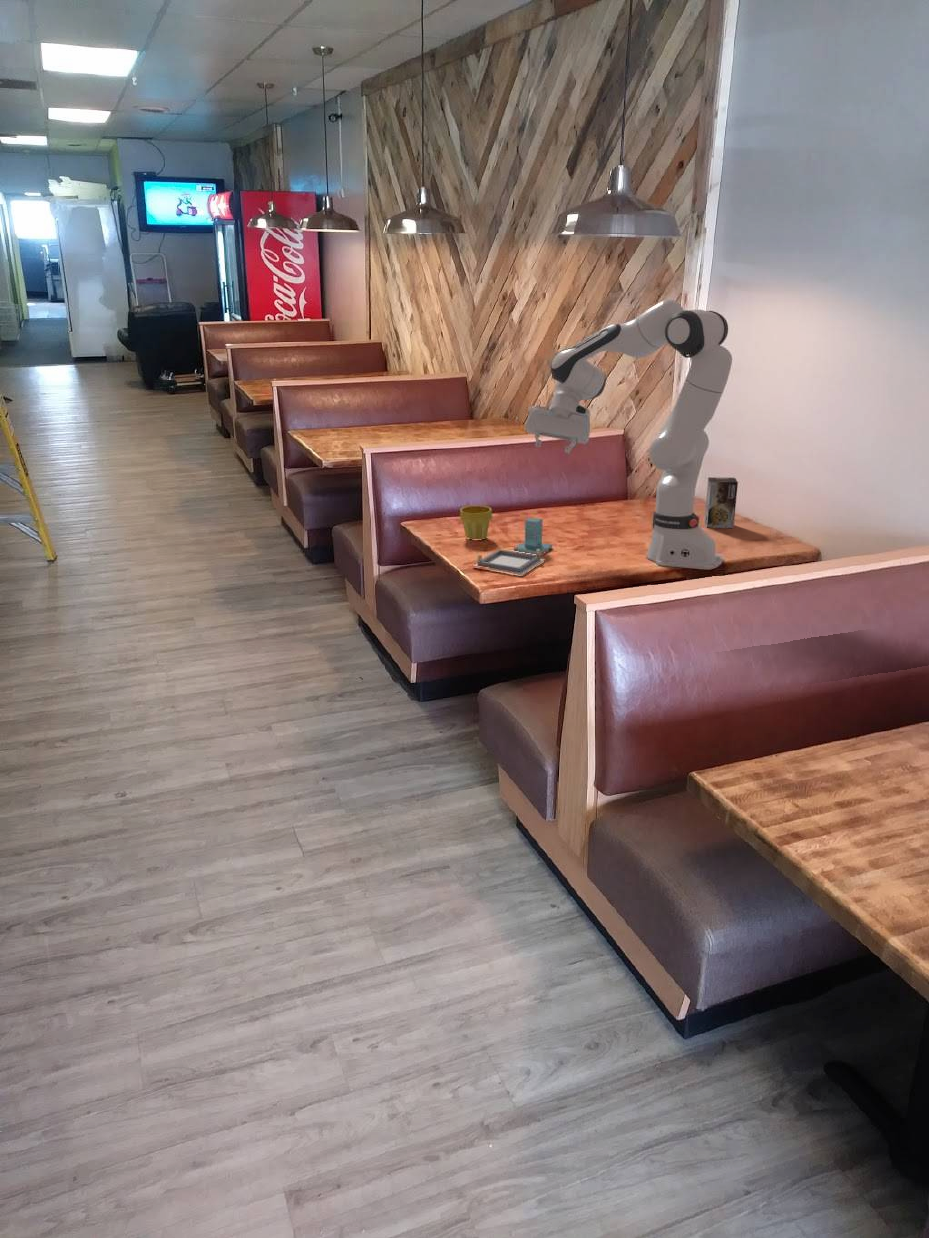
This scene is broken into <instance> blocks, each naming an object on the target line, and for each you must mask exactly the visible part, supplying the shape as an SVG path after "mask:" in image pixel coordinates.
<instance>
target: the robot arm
mask: <svg viewBox="0 0 929 1238" xmlns="http://www.w3.org/2000/svg"><path fill="white" fill-rule="evenodd" d="M728 334H729V325H728V321H727V319H726V318H725V317H724V315H722V314H720V313H719V312H717V311H713V310H704V309H690V310H688V309H687V310H685V309H684V308H683V307H682V305H681V304H680V303H679V302H677V301H676V300H674V299H670V298H668V299H664V300H661V301H660V302H658V303H655V305H652V306H651V307H649V308H648V309H646V310H645V311H643V312H642V313H641V314H640V315H638V316H637V317H636V318H635V317H634V318H633V319H632V320H629V321H626V322H623V323H615V324H614V323H613V324H610V325H608V326H606V327H603V328H602V329H599V330H598V331H597V332H595V333H593V334H591V335H590V336H588V337H586V338H584V339H583V340H581V341H579V342H578V343H576V344H574V345H572V346H570V347H567V348H564V349H562V350H560V351H558V352H557V353H556V354H555V355H554V356H553V358H552V360H551V363H550V373H551V375H552V379H553V380H555V381H556V384H555V389H554V390H555V391H554V394H553V396H552V398H551V401H550V403H549V404H550V405H549V407H548V406H540V405H537V404H536V405H535V406H532V407H530V408H529V411H528V418H527V420H526V422H525V431H526V433H529V434H532V435H533V434H534V438H535V445H534V446H535V447H536V448H541V445H542V440H541V439H539V438H540V436H543V437H547V438H552V439H557V440H558V439H559V440H562V441H563V440H564V441H569V442H570V443H569V445H565V448H564V453H567V454H570V452H571V449H573V448H574V447H575V446H576V444H577V443H579V444H583V445H586V444H587V443H588V442H589V440H590V434H591V421H590V420H591V411H590V409H589V408H587V407H584V406H582V405H581V404H580V403H581V401H588V400H592V399H596V398H598V397H600V396H601V395H602V394H603V392H604V390H605V387H606V384H607V376H606V373H605V372H604V371H603V370H602V369H601V368H599V367H598V366H596V365H595V364H593V363H591V362H590V361H589V359H590V358H592V357H594V356H596V355H597V354H599V353H601V352H605V351H606V352H608V351H609V352H615V353H616V352H617V353H620V354H623V355H626V356H628V357H632V358H637V359H639V358H640V359H641V358H646V357H648V356H650V355H653V354H654V353H656V352H657V351H658V350H660V349H661V348H662V347H664V346H665V345H666V344H667V343H668V345H669V346H670V347H672V348H673V349H674V350H675V351H678V353H679V354H681V356H682V357H683V358H684V359H685V358H686V359H688V358H690V366H689V368H688V369H689V370H688V372H687V375H686V377H685V380H684V383H683V385H682V387H681V389H680V393H679V395H678V397H677V400H676V402H675V405H674V407H673V408H672V410H671V412H670V414H669V415H668V417H667V419H666V420H665V422H664V424H663V425H662V428H661V429H660V431H659V432H658V435H657V436H656V438H654V439H653V441H652V442H651V444H650V446H649V449H648V458H649V461H650V463H651V464H652V465H653V467H655V468H656V469H658V470H661V471H662V474H661V476H660V480H659V481H658V482H657V485H656V496H655V509H654V510H653V516H652V523H651V524H652V534H651V540H650V544H649V546H648V549H647V552H646V557H647V558H648V559H649V560H650V561H653V562H654V563H655V564H657V565H658V566H664V567H673V568H674V567H675V568H676V567H677V568H685V569H697V570H713V569H716V568H718V567H720V566H721V565H722V563H723V561H724V560H723V555H721V554H719V553H717V552H716V549H717V548H716V543H715V540H714V538H712V537H711V536H710V535H709V534H708V533H707V532H706V531H705V530H703V529H702V528H701V527H700V526H699V523H700V520H701V515H700V514H699V515H697V514H696V513H695V512H694V507H695V506H694V505H695V504H694V503H695V496H696V494H695V493H696V487H697V482H698V478H699V475H700V472H701V469H702V464H703V461H704V458H705V457H704V456H705V455H706V452H707V451H708V448H709V445H710V444H709V443H710V441H709V437H708V434H707V433H706V432H705V429H706V427H707V425H708V424H709V423H710V422H711V420H712V419H713V417H714V416H715V412H716V410H717V408H718V405H719V402H720V401H721V398H722V396H723V393H724V391H725V388H726V386H727V382H728V379H729V376H730V372H731V368H732V363H733V356H732V353H731V352H730V351H729V349H727V348H726V347H724V346H722V344H723V343H724V342H725V340H726V339H727V337H728Z"/></svg>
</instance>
